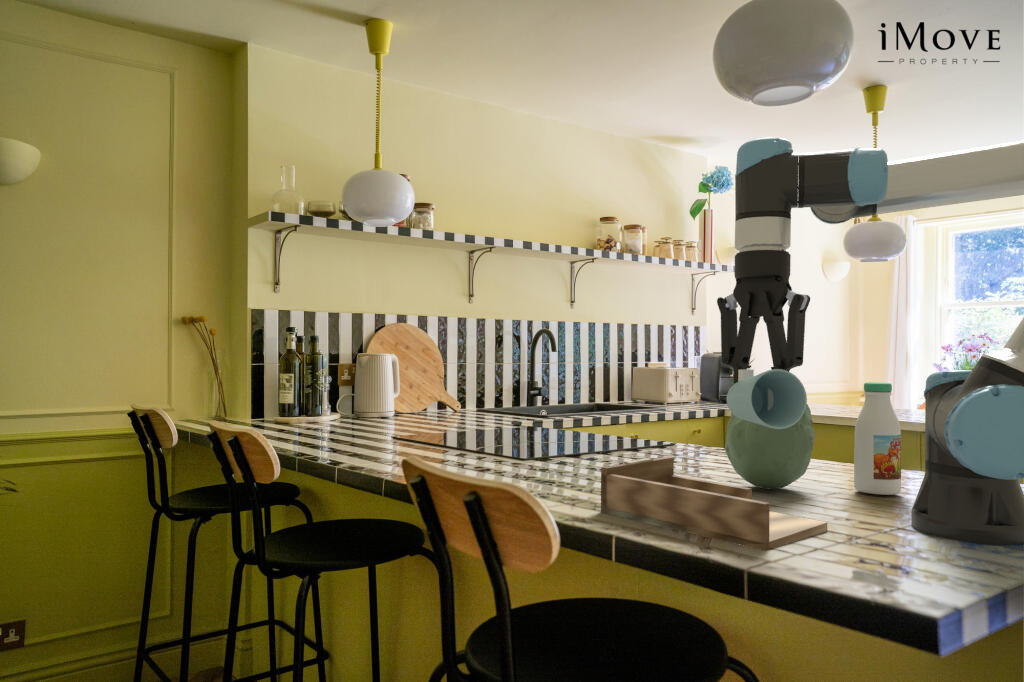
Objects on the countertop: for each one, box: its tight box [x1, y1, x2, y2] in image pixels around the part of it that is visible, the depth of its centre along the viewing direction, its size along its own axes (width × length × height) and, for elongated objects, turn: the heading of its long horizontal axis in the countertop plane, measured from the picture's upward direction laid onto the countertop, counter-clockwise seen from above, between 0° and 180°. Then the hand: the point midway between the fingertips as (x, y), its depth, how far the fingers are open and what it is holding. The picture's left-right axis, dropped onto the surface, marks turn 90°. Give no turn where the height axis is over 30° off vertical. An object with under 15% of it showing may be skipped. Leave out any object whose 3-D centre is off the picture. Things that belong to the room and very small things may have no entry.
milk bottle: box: [853, 381, 902, 496], centre depth 134 cm, size 8×8×20 cm
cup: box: [726, 369, 808, 429], centre depth 99 cm, size 8×8×10 cm
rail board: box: [600, 456, 828, 551], centre depth 110 cm, size 28×17×8 cm, turn 41°
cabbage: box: [724, 403, 816, 490], centre depth 137 cm, size 16×19×20 cm
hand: (760, 415), depth 104 cm, fingers closed on cup, 4 cm apart
